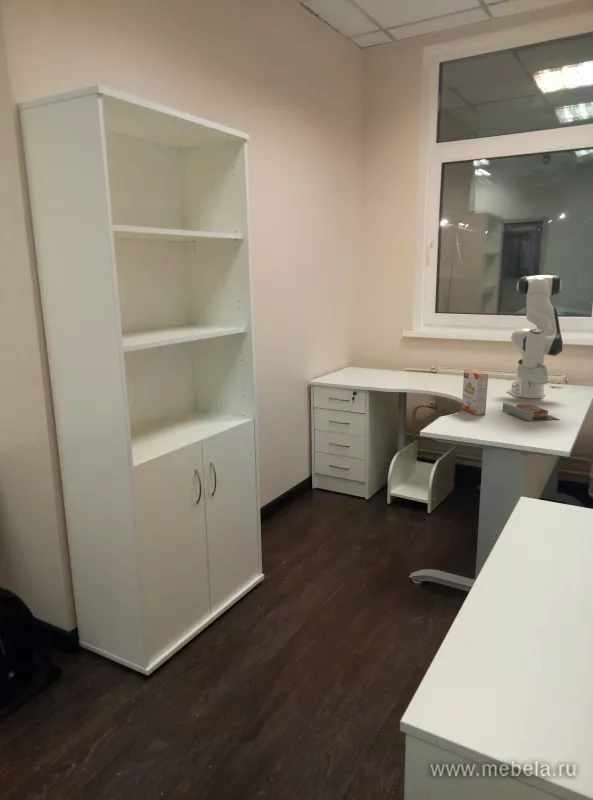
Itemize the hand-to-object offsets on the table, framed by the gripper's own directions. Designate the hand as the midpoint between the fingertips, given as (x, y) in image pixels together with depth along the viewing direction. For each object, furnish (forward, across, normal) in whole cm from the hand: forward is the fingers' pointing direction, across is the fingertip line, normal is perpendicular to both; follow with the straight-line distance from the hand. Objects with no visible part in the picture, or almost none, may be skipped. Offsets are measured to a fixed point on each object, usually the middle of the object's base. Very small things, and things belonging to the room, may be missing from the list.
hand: (531, 390), depth 282 cm
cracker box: (+13, +12, +24) cm, 30 cm away
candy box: (+10, +6, 0) cm, 12 cm away
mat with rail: (+13, 0, 0) cm, 13 cm away
